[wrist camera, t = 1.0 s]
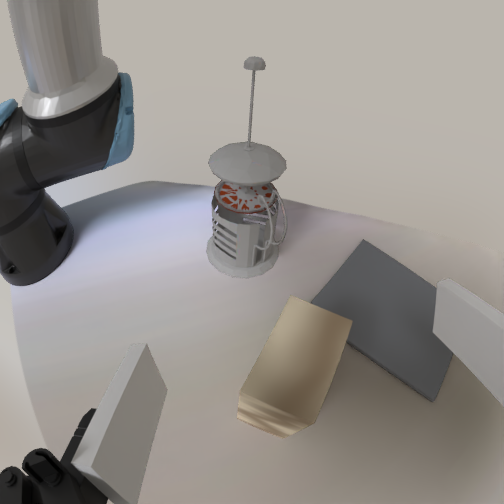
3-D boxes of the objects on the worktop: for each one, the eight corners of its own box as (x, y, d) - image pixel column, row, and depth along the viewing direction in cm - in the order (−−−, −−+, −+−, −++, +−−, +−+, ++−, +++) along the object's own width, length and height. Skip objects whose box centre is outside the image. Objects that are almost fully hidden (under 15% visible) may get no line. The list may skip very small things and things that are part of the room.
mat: (303, 311, 34) (304, 309, 34) (362, 241, 42) (363, 239, 42) (432, 401, 26) (434, 400, 26) (464, 312, 34) (466, 310, 34)
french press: (254, 215, 44) (270, 47, 26) (300, 269, 38) (350, 76, 19) (194, 237, 41) (182, 53, 22) (234, 301, 34) (243, 78, 16)
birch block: (236, 418, 25) (239, 390, 16) (272, 352, 30) (291, 292, 21) (283, 438, 24) (314, 422, 15) (314, 370, 29) (353, 318, 20)
